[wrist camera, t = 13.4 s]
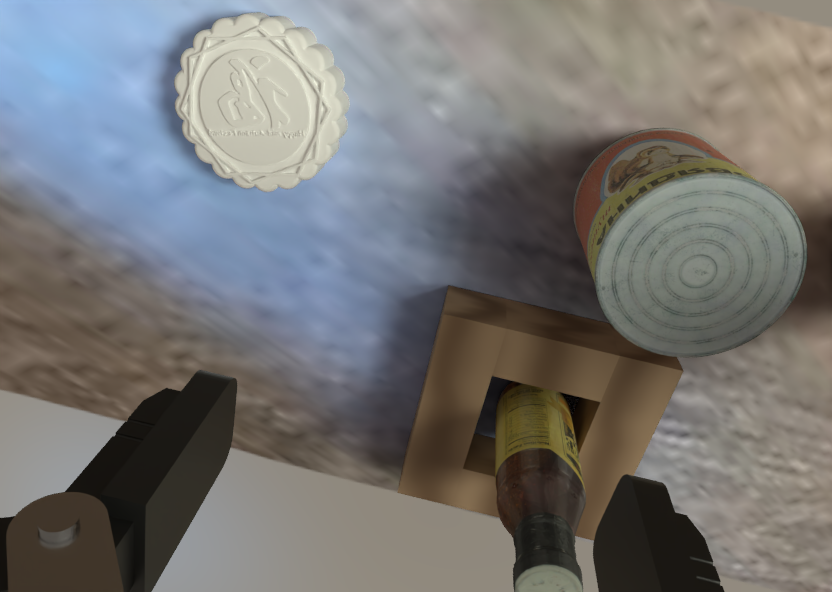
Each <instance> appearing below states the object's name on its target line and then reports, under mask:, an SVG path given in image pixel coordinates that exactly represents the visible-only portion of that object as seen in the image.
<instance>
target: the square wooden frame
mask: <svg viewBox="0 0 832 592" xmlns="http://www.w3.org/2000/svg"><path fill="white" fill-rule="evenodd" d="M682 373H683V369H682V367H681V365H680V363H679V361H678V359H677V357H672V356H666V355H660V354H657V353H653V352H650V351H648V350H645V349H643V348H641V347H639V346H637V345H635V344H633V343H632V342H630V341H628V340H627V339H626V338H625V337H623V336H622V335H621V334H620V333H619V332H618V331H617V330H616V329H615V328H614V327H613V326H612V325H611V324H609V323H605V322H601V321H597V320H592V319H588V318H584V317H580V316H576V315H571V314H567V313H563V312H559V311H555V310H550V309H546V308H542V307H538V306H534V305H529V304H525V303H521V302H517V301H513V300H508V299H504V298H500V297H496V296H492V295H487V294H483V293H479V292H475V291H471V290H466V289H462V288H458V287H454V286H450V285H448V289H447V293H446V297H445V301H444V305H443V309H442V313H441V317H440V321H439V324H438V328H437V332H436V336H435V340H434V344H433V348H432V352H431V356H430V360H429V364H428V367H427V371H426V375H425V379H424V383H423V387H422V391H421V395H420V399H419V403H418V407H417V410H416V414H415V418H414V422H413V426H412V430H411V434H410V438H409V442H408V446H407V450H406V453H405V458H404V463H403V468H402V473H401V478H400V483H399V488H398V493H401V494H405V495H409V496H413V497H417V498H421V499H426V500H430V501H434V502H438V503H442V504H446V505H450V506H454V507H458V508H463V509H467V510H471V511H475V512H479V513H483V514H487V515H491V516H496V517H500V516H499V513H498V508H497V504H496V501H497V499H496V498H497V490H496V484H495V458H496V453H495V444H496V443H495V438H491V437H487V436H483V435H479V434H475V433H474V432H475V428H476V425H477V422H478V419H479V416H480V412H481V409H482V406H483V403H484V400H485V397H486V393H487V390H488V387H489V384H490V381H491V377H492V376H494V377H498V378H502V379H507V380H511V381H515V382H519V383H523V384H527V385H532V386H536V387H540V388H544V389H548V390H552V391H557V392H561V393H565V394H569V395H573V396H577V397H580V398H579V401H578V403H577V406H576V408H575V411H574V413H573V416H572V423H573V428H574V433H575V439H576V444H577V450H578V455H579V460H580V465H581V471H582V476H583V481H584V487H585V493H586V505H585V508H584V511H583V514H582V516H581V519H580V522H579V525H578V528H577V531H576V535H575V536H578V537H582V538H586V539H590V540H594V538H595V534H596V530H597V527H598V525H599V523H600V521H601V519H602V516H603V514H604V512H605V510H606V508H607V506H608V504H609V501H610V499H611V497H612V495H613V493H614V491H615V489H616V486H617V484H618V482H619V480H620V479H621V477H622V476H623V475H625V474H628V475H632V476H633V475H634V473H635V471H636V469H637V467H638V465H639V463H640V461H641V459H642V456H643V454H644V452H645V450H646V448H647V446H648V444H649V442H650V440H651V438H652V436H653V434H654V431H655V429H656V427H657V425H658V423H659V421H660V419H661V417H662V415H663V413H664V411H665V409H666V406H667V404H668V402H669V400H670V398H671V396H672V394H673V392H674V390H675V388H676V386H677V383H678V381H679V379H680V377H681V375H682Z"/></svg>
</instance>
